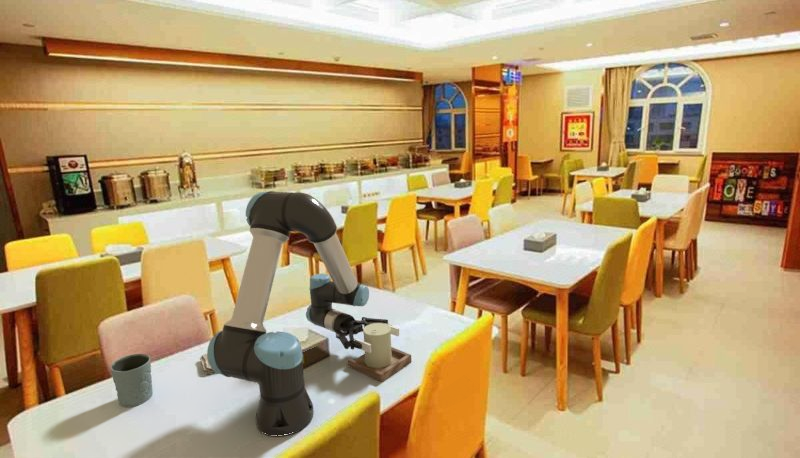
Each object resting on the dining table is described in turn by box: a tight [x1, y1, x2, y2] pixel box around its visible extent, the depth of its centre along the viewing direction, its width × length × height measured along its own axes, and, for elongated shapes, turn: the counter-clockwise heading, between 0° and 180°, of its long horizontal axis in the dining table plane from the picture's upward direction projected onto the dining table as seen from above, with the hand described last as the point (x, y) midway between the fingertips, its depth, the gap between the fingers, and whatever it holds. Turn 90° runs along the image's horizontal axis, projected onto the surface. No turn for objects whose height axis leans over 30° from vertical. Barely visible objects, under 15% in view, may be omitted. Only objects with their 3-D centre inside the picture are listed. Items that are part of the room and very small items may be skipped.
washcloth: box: [199, 353, 217, 375], centre depth 149 cm, size 12×18×3 cm, turn 123°
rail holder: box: [346, 346, 412, 383], centre depth 143 cm, size 15×15×2 cm
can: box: [363, 323, 392, 368], centre depth 142 cm, size 9×9×12 cm
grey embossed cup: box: [109, 353, 154, 408], centre depth 128 cm, size 10×10×12 cm
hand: (385, 340), depth 140 cm, fingers open, 13 cm apart
